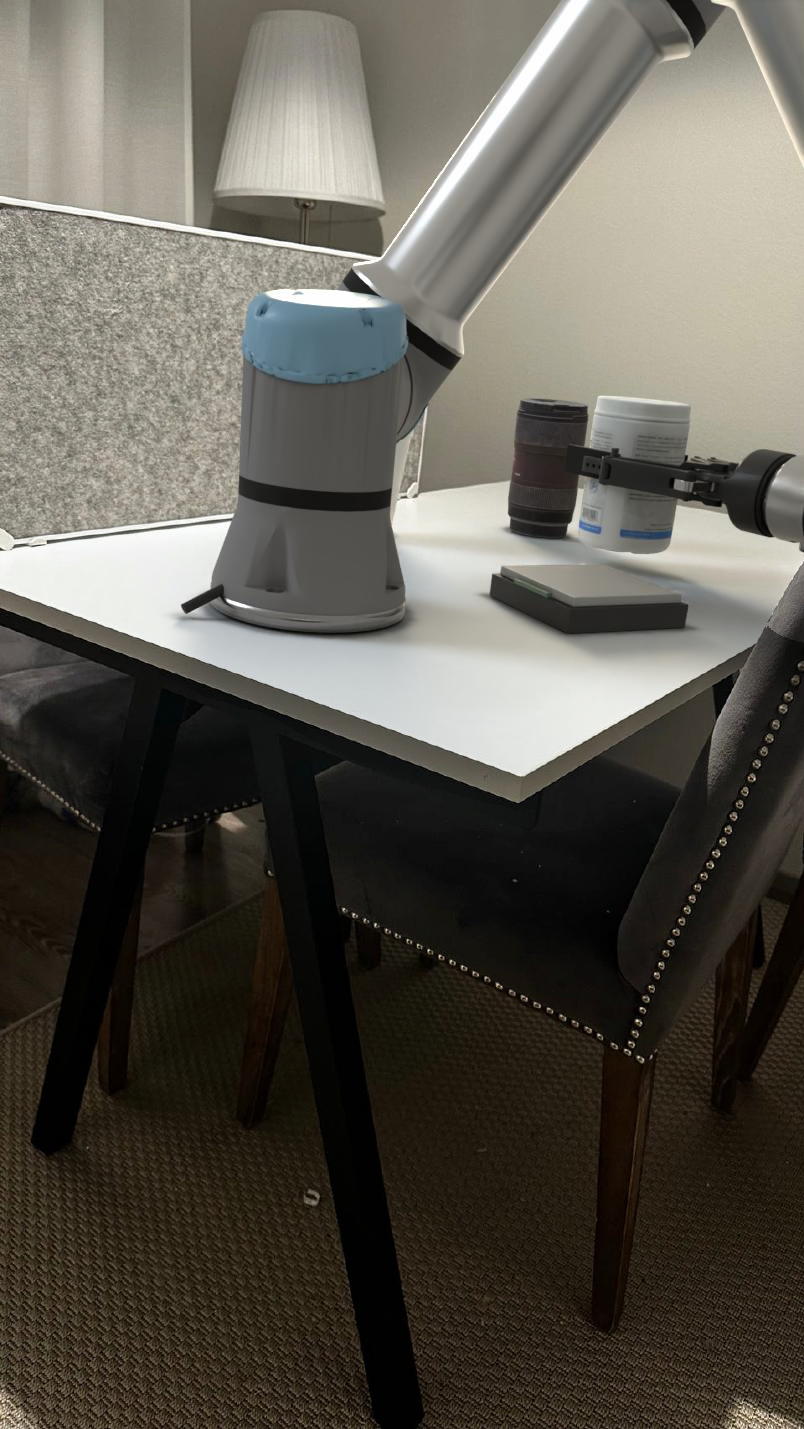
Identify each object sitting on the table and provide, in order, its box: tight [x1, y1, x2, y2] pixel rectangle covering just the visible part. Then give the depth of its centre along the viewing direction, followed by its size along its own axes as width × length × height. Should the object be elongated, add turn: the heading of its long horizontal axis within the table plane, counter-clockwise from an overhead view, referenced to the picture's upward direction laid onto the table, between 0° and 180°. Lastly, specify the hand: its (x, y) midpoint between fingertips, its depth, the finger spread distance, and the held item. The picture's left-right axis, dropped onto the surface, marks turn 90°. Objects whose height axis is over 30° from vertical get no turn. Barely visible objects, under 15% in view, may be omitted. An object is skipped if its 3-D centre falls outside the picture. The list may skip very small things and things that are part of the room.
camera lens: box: [507, 397, 590, 539], centre depth 126 cm, size 8×8×15 cm
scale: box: [489, 563, 690, 634], centre depth 93 cm, size 12×12×3 cm
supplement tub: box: [577, 395, 692, 555], centre depth 111 cm, size 10×10×15 cm
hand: (602, 458), depth 114 cm, fingers closed on supplement tub, 9 cm apart
